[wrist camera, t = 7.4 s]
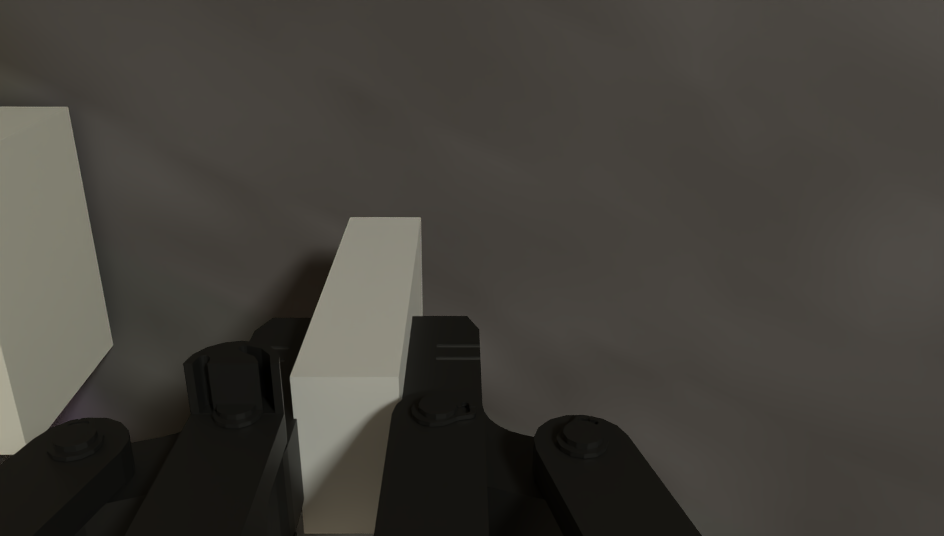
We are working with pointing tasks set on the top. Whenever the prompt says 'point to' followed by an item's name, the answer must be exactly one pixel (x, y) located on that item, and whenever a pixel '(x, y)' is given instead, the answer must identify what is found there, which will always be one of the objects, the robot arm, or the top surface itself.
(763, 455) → the top surface
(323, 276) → the top surface
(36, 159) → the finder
